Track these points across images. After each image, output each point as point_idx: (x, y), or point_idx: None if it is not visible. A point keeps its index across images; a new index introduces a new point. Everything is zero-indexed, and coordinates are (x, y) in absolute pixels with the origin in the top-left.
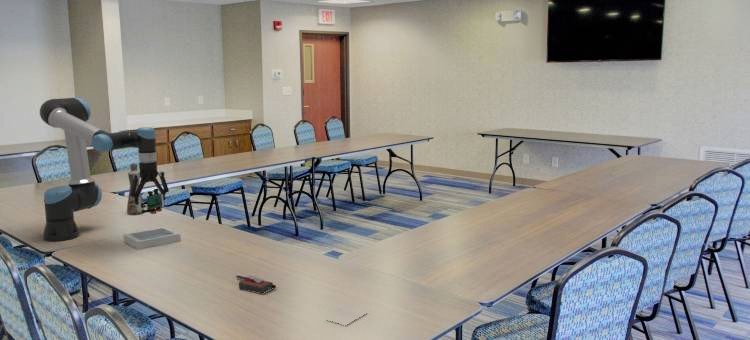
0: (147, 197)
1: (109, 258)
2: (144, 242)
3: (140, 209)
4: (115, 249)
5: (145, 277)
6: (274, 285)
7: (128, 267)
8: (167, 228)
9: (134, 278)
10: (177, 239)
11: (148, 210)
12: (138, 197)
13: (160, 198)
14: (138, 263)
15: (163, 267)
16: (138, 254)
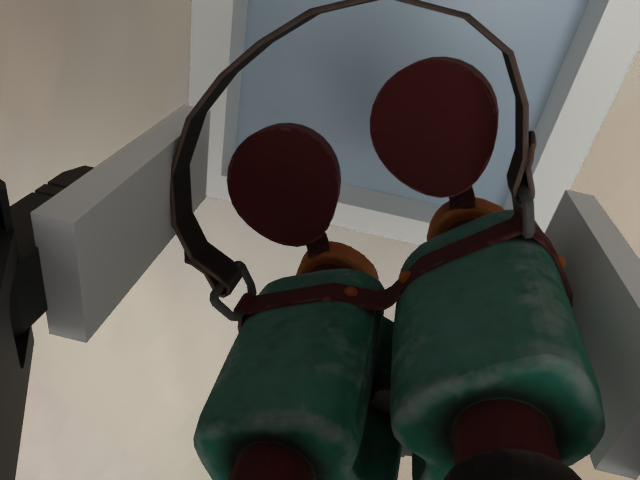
0: (199, 441)
1: (14, 179)
2: None
3: None
4: (92, 33)
5: (81, 464)
6: None
7: (61, 355)
8: (630, 35)
9: (46, 446)
10: None
11: (298, 242)
12: (54, 302)
13: (595, 338)
14: (114, 350)
15: (176, 450)
16: (169, 248)
